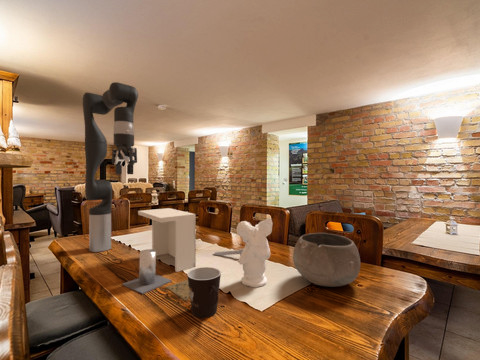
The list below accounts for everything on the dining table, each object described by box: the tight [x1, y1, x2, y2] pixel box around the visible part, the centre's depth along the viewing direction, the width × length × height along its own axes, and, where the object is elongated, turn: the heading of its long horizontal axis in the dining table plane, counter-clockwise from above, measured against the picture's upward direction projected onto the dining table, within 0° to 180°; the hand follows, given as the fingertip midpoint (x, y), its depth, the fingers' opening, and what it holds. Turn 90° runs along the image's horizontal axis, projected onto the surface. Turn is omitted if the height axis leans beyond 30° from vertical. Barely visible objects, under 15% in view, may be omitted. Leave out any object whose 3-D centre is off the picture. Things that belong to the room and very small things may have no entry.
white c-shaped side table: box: [137, 207, 197, 273], centre depth 100 cm, size 24×14×21 cm, turn 40°
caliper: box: [212, 248, 244, 257], centre depth 107 cm, size 20×1×6 cm, turn 67°
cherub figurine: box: [236, 216, 274, 288], centre depth 84 cm, size 12×12×22 cm
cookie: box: [164, 278, 190, 301], centre depth 78 cm, size 12×12×1 cm
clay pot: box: [292, 232, 361, 288], centre depth 81 cm, size 21×21×15 cm
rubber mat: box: [121, 273, 173, 295], centre depth 81 cm, size 11×11×1 cm
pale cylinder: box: [138, 248, 157, 285], centre depth 81 cm, size 5×5×10 cm
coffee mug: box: [186, 266, 222, 319], centre depth 62 cm, size 12×9×10 cm
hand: (124, 174), depth 99 cm, fingers open, 8 cm apart
